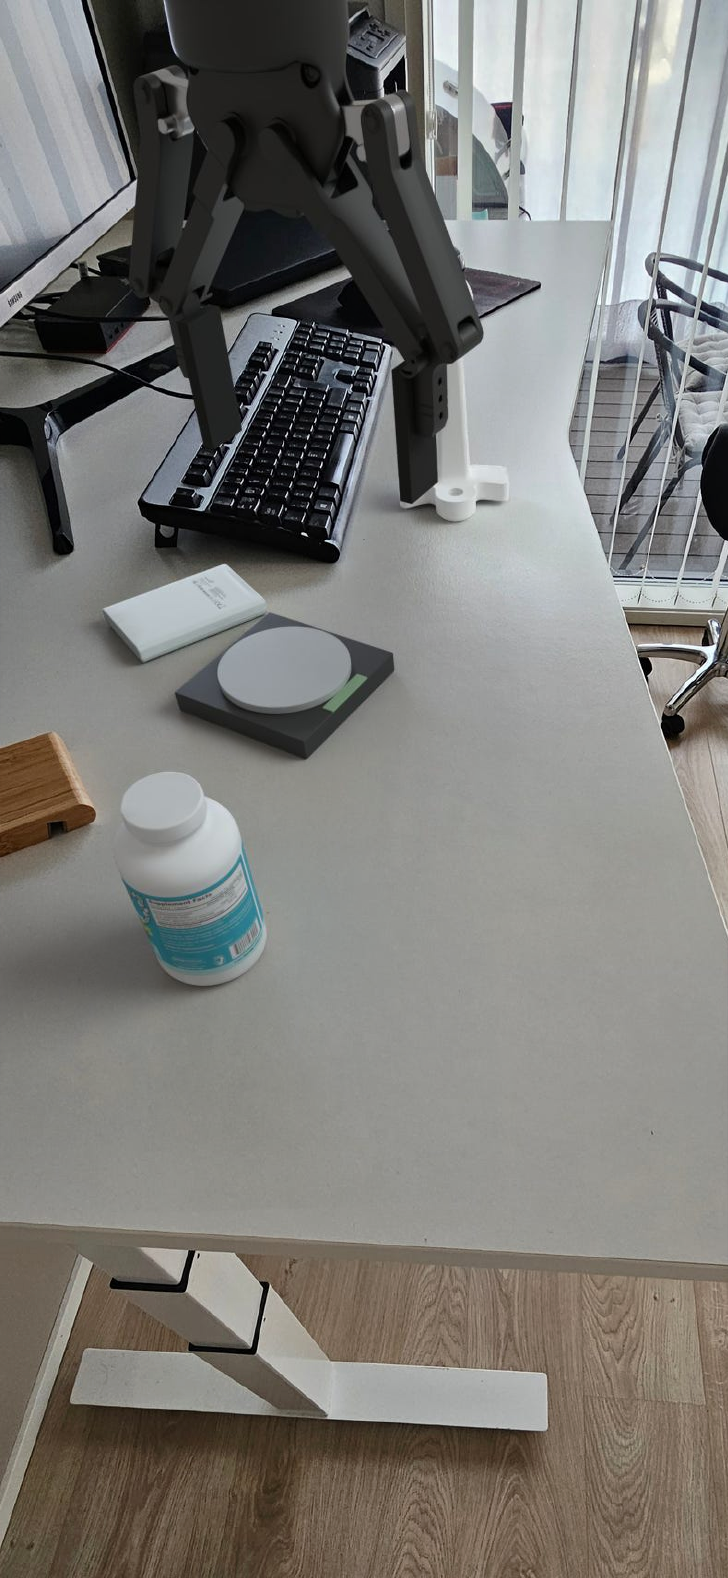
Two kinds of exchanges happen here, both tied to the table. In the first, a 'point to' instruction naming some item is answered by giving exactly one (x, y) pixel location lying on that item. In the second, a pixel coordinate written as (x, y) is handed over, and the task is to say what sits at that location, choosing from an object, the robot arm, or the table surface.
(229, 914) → the pill bottle
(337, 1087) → the table surface
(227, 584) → the hard drive
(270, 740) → the scale
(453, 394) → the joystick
